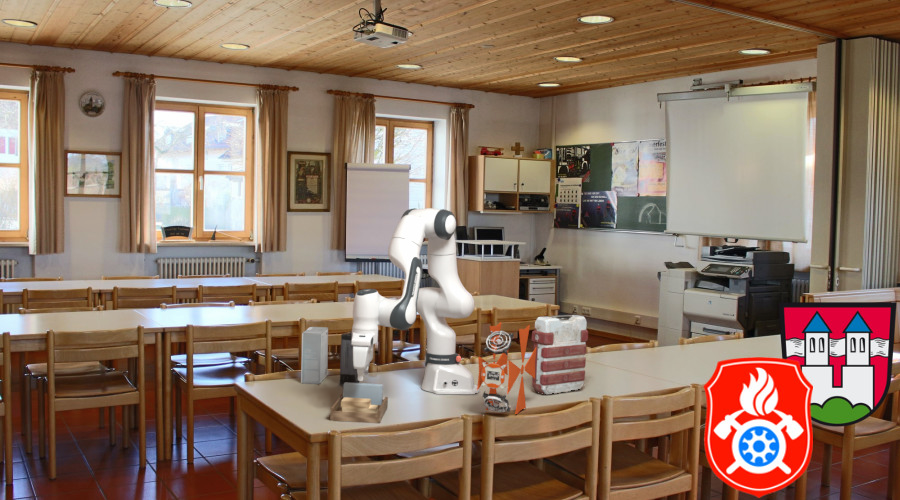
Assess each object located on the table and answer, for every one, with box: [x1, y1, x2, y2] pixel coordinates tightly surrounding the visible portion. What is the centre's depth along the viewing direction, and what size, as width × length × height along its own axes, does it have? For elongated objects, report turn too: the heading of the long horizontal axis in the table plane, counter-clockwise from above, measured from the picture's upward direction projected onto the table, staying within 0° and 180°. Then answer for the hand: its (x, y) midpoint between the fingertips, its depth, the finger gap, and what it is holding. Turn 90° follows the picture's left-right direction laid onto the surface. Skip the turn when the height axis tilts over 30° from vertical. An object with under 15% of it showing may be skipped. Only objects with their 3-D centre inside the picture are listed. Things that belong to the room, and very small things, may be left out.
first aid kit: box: [531, 314, 589, 395], centre depth 309 cm, size 23×8×30 cm, turn 126°
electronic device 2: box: [477, 321, 537, 415], centre depth 276 cm, size 11×30×30 cm, turn 156°
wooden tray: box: [329, 394, 389, 424], centre depth 263 cm, size 16×19×4 cm
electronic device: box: [339, 330, 361, 387], centre depth 307 cm, size 9×6×20 cm, turn 168°
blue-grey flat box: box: [342, 382, 384, 405], centre depth 268 cm, size 13×3×9 cm, turn 87°
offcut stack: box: [339, 397, 378, 413], centre depth 259 cm, size 13×5×6 cm, turn 87°
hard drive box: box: [300, 326, 329, 385], centre depth 312 cm, size 16×8×20 cm, turn 178°
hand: (362, 377), depth 268 cm, fingers open, 8 cm apart
